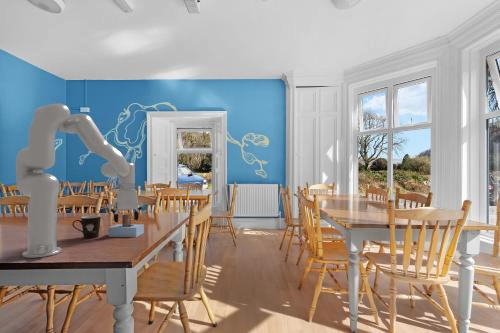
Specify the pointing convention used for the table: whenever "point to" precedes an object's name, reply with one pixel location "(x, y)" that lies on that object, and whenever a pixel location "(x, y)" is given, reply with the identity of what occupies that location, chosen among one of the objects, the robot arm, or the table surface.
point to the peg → (126, 220)
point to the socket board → (126, 230)
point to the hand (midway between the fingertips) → (126, 221)
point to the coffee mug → (89, 226)
